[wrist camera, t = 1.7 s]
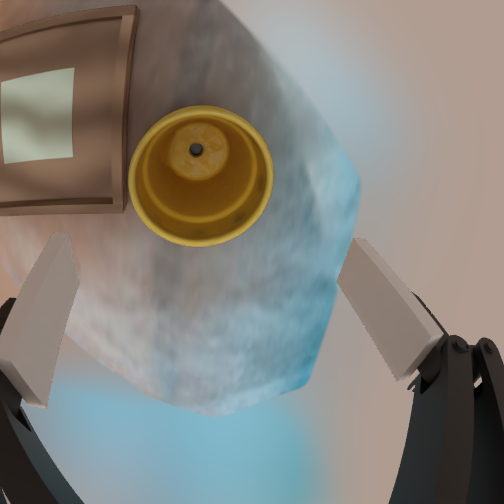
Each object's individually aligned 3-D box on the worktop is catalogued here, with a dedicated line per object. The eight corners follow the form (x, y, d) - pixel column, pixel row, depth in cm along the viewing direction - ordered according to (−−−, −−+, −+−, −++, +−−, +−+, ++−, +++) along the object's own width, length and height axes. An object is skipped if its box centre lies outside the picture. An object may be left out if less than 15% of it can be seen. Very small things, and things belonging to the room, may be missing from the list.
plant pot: (123, 151, 25) (97, 188, 18) (201, 76, 23) (208, 76, 15) (194, 214, 31) (200, 270, 23) (268, 151, 29) (303, 186, 21)
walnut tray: (-25, 46, 13) (-37, 47, 11) (139, 10, 18) (135, 5, 16) (-16, 208, 23) (-26, 217, 22) (127, 203, 29) (123, 213, 27)
